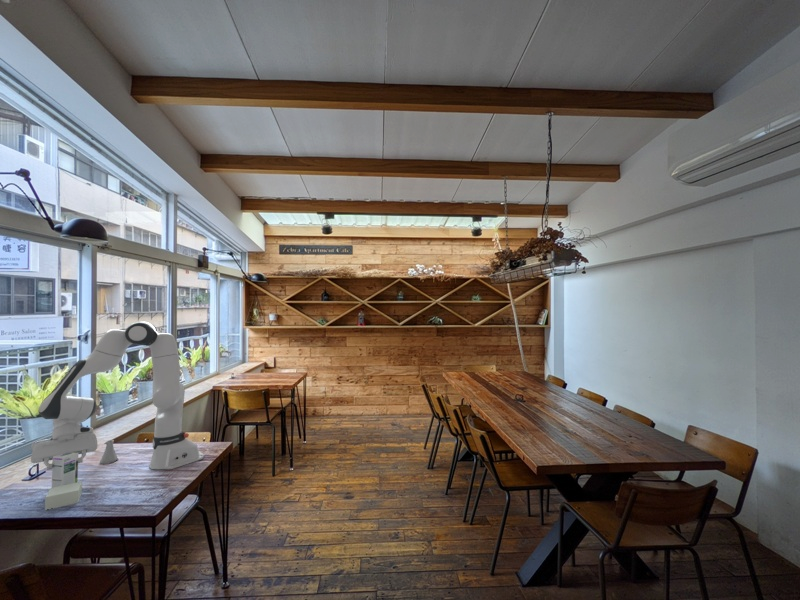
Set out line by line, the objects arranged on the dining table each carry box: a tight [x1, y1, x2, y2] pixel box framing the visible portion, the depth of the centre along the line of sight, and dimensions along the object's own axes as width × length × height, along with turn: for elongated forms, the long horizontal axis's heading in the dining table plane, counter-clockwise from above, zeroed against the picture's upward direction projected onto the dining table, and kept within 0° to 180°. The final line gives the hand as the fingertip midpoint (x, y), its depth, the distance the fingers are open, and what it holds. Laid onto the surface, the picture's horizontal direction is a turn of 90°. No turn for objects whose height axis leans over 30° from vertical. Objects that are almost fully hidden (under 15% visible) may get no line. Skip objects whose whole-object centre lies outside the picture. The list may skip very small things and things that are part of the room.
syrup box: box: [51, 452, 79, 488], centre depth 142 cm, size 6×6×14 cm
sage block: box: [44, 481, 83, 511], centre depth 133 cm, size 9×9×5 cm
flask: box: [99, 439, 119, 465], centre depth 170 cm, size 7×7×10 cm
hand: (65, 465), depth 142 cm, fingers closed on syrup box, 8 cm apart
